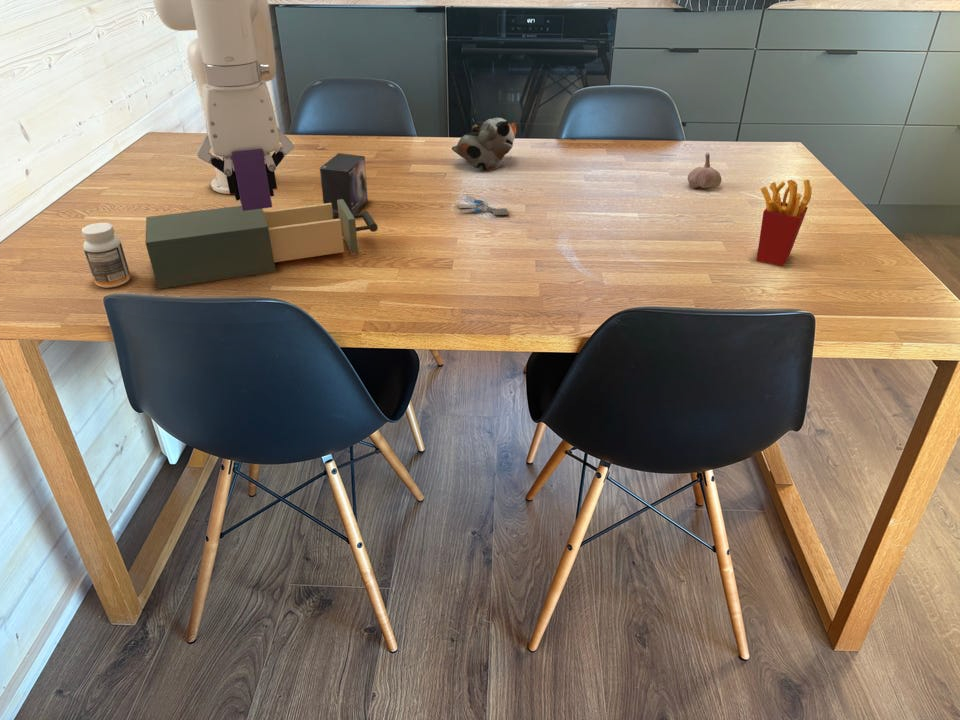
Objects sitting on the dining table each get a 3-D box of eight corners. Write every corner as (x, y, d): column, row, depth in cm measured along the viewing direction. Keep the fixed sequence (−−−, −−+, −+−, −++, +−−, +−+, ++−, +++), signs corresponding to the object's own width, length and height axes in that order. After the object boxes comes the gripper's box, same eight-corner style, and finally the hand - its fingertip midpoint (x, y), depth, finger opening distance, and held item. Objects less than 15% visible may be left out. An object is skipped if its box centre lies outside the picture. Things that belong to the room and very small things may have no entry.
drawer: (368, 229, 139) (365, 196, 135) (381, 249, 131) (379, 215, 127) (249, 245, 132) (243, 211, 128) (255, 268, 124) (248, 232, 120)
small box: (353, 220, 145) (348, 170, 139) (323, 217, 146) (317, 168, 140) (369, 202, 153) (366, 154, 148) (341, 199, 154) (336, 152, 149)
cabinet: (267, 246, 134) (260, 203, 129) (275, 271, 125) (268, 226, 120) (158, 261, 128) (146, 216, 123) (158, 289, 119) (145, 242, 114)
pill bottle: (102, 274, 123) (85, 221, 118) (136, 273, 124) (120, 220, 118) (90, 289, 119) (71, 235, 113) (125, 288, 119) (108, 234, 114)
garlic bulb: (684, 189, 162) (690, 155, 157) (688, 179, 167) (694, 146, 163) (718, 194, 159) (725, 159, 155) (721, 184, 165) (728, 150, 161)
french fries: (787, 270, 127) (809, 190, 119) (741, 259, 131) (760, 181, 122) (797, 252, 133) (819, 176, 125) (753, 242, 137) (772, 167, 129)
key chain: (514, 213, 148) (514, 209, 148) (488, 224, 143) (488, 220, 143) (467, 196, 156) (467, 193, 156) (440, 206, 151) (440, 203, 151)
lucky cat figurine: (470, 151, 183) (497, 103, 177) (505, 178, 181) (533, 130, 174) (442, 149, 171) (469, 97, 164) (478, 177, 168) (508, 126, 162)
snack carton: (239, 198, 114) (228, 142, 109) (267, 194, 115) (258, 139, 110) (242, 211, 109) (232, 153, 104) (272, 207, 111) (263, 150, 106)
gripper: (288, 66, 107) (303, 182, 117) (170, 73, 102) (197, 194, 112) (295, 75, 101) (311, 197, 111) (171, 84, 96) (199, 210, 106)
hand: (254, 194), depth 111 cm, fingers closed on snack carton, 4 cm apart
